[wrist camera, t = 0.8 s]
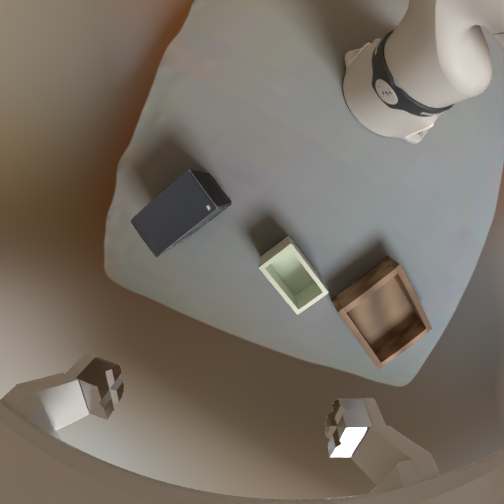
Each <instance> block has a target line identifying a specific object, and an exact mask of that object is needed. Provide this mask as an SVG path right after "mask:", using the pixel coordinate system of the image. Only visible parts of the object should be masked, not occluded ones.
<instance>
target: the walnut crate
mask: <svg viewBox="0 0 504 504" xmlns="http://www.w3.org/2000/svg"><path fill="white" fill-rule="evenodd" d="M331 300H332V302H333V304H334V306H335V308H336V310H337V312H338V314H339V315H340V316H341V318H342V319H343V321H344V322H345V323H346V325H347V326H348V327H349V329H350V330H351V331H352V333H353V334H354V336H355V337H356V338H357V340H358V341H359V343H360V344H361V345H362V347H363V348H364V350H365V351H366V352H367V354H368V355H369V357H370V358H371V359H372V361H373V362H374V364H375V365H376V366H377V368H378V369H379V368H381V367H382V366H384V365H385V364H387V363H388V362H390V361H391V360H392V359H394V358H395V357H397V356H398V355H399V354H401V353H402V352H403V351H405V350H406V349H407V348H409V347H410V346H411V345H413V344H414V343H415V342H416V341H418V340H419V339H420V338H421V337H423V336H424V335H425V334H426V333H428V332H429V331H430V330H431V329H432V327H431V325H430V323H429V320H428V318H427V316H426V314H425V312H424V310H423V308H422V306H421V304H420V302H419V300H418V298H417V296H416V294H415V292H414V290H413V288H412V286H411V284H410V282H409V280H408V278H407V276H406V275H405V273H404V271H403V269H402V267H401V265H400V264H399V263H397V262H396V261H394V260H393V259H391V258H390V257H388V256H387V257H386V258H385V259H384V260H382V261H381V262H380V263H379V264H377V265H376V266H375V267H374V268H372V269H371V270H370V271H368V272H367V273H366V274H365V275H363V276H362V277H361V278H359V279H358V280H357V281H355V282H354V283H353V284H351V285H350V286H349V287H347V288H346V289H345V290H343V291H342V292H341V293H339V294H338V295H337V296H335V297H334V298H332V299H331Z"/></svg>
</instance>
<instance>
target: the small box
mask: <svg viewBox="0 0 504 504" xmlns="http://www.w3.org/2000/svg"><path fill="white" fill-rule="evenodd" d="M230 205H231V201H230V200H229V199H228V198H227V197H226V195H225V194H224V192H223V191H222V190H221V188H220V187H219V186H218V184H217V183H216V181H215V180H214V178H213V177H212V176H211V175H210V174H209V173H203V172H198V171H193V170H189V169H188V170H187V171H186V172H184V173H183V174H182V175H181V176H180V177H178V178H177V179H176V180H175V181H174V182H173V183H171V184H170V185H169V186H168V187H167V188H166V189H165V190H163V191H162V192H161V193H160V194H159V195H158V196H157V197H156V198H154V199H153V200H152V201H151V202H150V203H149V204H148V205H147V206H146V207H144V208H143V209H142V210H141V211H140V212H139V213H138V214H137V215H136V216H135V217H134V218H133V219H132V220H131V223H132V224H133V226H134V228H135V229H136V230H137V232H138V233H139V235H140V236H141V238H142V239H143V240H144V242H145V243H146V244H147V246H148V247H149V249H150V250H151V251H152V253H153V254H154V255H155V257H158V256H160V255H161V254H162V253H164V252H165V251H167V250H169V249H170V248H172V247H174V246H175V245H177V244H179V243H181V242H183V241H184V240H185V239H187V238H188V237H189V236H191V235H192V234H193V233H194V232H196V231H197V230H198V229H200V228H201V227H202V226H204V225H205V224H206V223H207V222H209V221H211V220H212V219H213V218H214V217H215V216H217V215H218V214H219V213H221V212H222V211H223V210H225V209H226V208H227V207H228V206H230Z"/></svg>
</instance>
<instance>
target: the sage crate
mask: <svg viewBox="0 0 504 504" xmlns="http://www.w3.org/2000/svg"><path fill="white" fill-rule="evenodd" d="M259 269H260V270H261V271H262V272H263V274H264V275H265V276H266V277H267V278H268V280H269V281H270V282H271V283H272V285H273V286H274V287H275V288H276V289H277V291H278V292H279V293H280V294H281V295H282V297H283V298H284V299H285V300H286V302H287V303H288V304H289V305H290V306H291V308H292V309H293V310H294V311H295V312H296V314H297V315H298V314H299V313H301V312H302V311H304V310H305V309H307V308H308V307H310V306H311V305H312V304H314V303H315V302H317V301H318V300H319V299H321V298H322V297H324V296H325V295H326V294H328V293H329V292H328V290H327V288H326V286H325V285H324V283H323V281H322V279H321V277H320V276H319V275H318V273H317V272H316V271H315V269H314V268H313V267H312V265H311V264H310V263H309V261H308V260H307V259H306V258H305V256H304V255H303V254H302V252H301V251H300V250H299V248H298V247H297V246H296V244H295V243H294V242H293V241H292V239H291V238H290V237H289V235H288V236H287V237H286V238H284V239H283V240H282V241H280V242H279V243H278V244H276V245H275V246H274V247H272V248H271V249H270V250H268V251H267V252H266V253H265V254H263V255H262V256H261V257H260V262H259Z"/></svg>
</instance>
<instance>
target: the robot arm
mask: <svg viewBox="0 0 504 504" xmlns="http://www.w3.org/2000/svg"><path fill="white" fill-rule="evenodd" d="M480 26H482V27H483V28H484V29H486V30H487V31H488V33H490V34H491V35H492V36H493V37H494V38H495V39H496V40H497V42H498V43H499V44H500V45H501V47H502V48H503V49H504V0H409V6H408V9H407V12H406V14H405V15H404V17H403V19H402V20H401V22H400V23H399V25H398V26H397V28H396V29H395V30H394V31H391V32H389V33H388V34H387V35H386V36H385V37H383V38H382V39H380V38H377V39H375V40H373V43H369V42H368V43H366V44H365V45H364V46H363V47H362V48H359V49H355V50H351V51H349V52H347V53H346V54H345V56H344V60H345V65H346V74H345V77H344V82H343V91H344V97H345V100H346V103H347V105H348V107H349V109H350V110H351V112H352V114H353V115H354V116H355V117H356V119H357V120H358V121H359V122H360V123H361V124H363V125H364V126H365V127H366V128H368V129H369V130H371V131H373V132H375V133H377V134H379V135H383V136H387V137H398V138H402V139H404V140H406V141H407V142H409V143H412V144H416V143H418V142H420V141H421V139H422V138H423V137H424V135H425V134H426V133H427V131H428V130H429V129H430V128H431V127H432V126H433V125H434V124H433V123H434V122H435V120H436V119H437V118H438V116H439V115H440V114H441V113H443V112H445V111H446V110H448V109H450V108H451V107H452V106H453V105H454V104H455V103H457V102H460V101H463V100H465V99H468V98H471V97H473V96H476V95H479V94H481V93H482V92H483V91H484V90H485V89H486V88H487V87H488V85H489V83H490V81H491V78H492V59H491V54H490V50H489V47H488V44H487V42H486V39H485V37H484V35H483V33H482V30H481V27H480ZM417 133H419V134H417ZM121 373H122V372H121V367H120V366H119V365H118V364H116V363H113V362H110V361H107V360H104V359H102V358H99V357H95V356H93V355H91V354H84V355H83V356H82V357H81V358H80V359H79V360H78V361H77V362H76V363H75V364H74V365H73V366H72V367H71V368H70V369H69V371H68V372H66V374H64V373H59V374H55V375H52V376H48V377H44V378H41V379H37V380H33V381H29V382H25V383H21V384H17V385H16V386H15V387H14V388H13V389H12V390H11V391H10V392H9V393H7V394H6V395H5V396H4V397H3V398H2V399H1V400H0V504H504V449H502V450H500V451H498V452H496V453H494V454H492V455H490V456H488V457H486V458H484V459H482V460H479V461H477V462H475V463H473V464H470V465H468V466H466V467H463V468H461V469H458V470H456V471H453V472H450V473H447V474H445V475H442V476H441V475H440V472H439V470H438V468H437V466H436V464H435V462H434V460H433V457H432V455H431V454H430V453H429V452H427V451H426V450H424V449H423V448H421V447H420V446H418V445H417V444H415V443H414V442H412V441H411V440H409V439H408V438H406V437H405V436H403V435H402V434H400V433H399V432H397V431H396V430H395V429H393V428H392V427H390V426H386V425H385V423H384V420H383V418H382V415H381V413H380V411H379V408H378V406H377V404H376V401H375V399H373V398H361V399H336V400H335V401H334V403H333V405H332V408H333V411H332V412H331V413H329V414H328V417H327V419H326V425H325V433H326V436H327V437H328V438H329V439H330V441H329V443H328V450H329V455H330V457H351V459H352V460H353V461H354V462H355V463H356V464H357V465H358V466H359V467H360V468H361V469H362V470H363V471H364V472H365V473H366V474H367V475H368V476H369V477H370V479H372V481H373V482H375V484H376V485H377V486H376V487H375V488H374V489H373V491H372V492H371V493H370V494H363V495H356V496H349V497H339V498H327V499H305V500H284V499H283V500H282V499H281V500H280V499H261V498H249V497H239V496H231V495H224V494H217V493H211V492H206V491H200V490H195V489H191V488H186V487H181V486H177V485H174V484H170V483H166V482H162V481H159V480H155V479H152V478H149V477H146V476H142V475H140V474H136V473H134V472H131V471H128V470H125V469H123V468H120V467H117V466H115V465H112V464H110V463H108V462H105V461H102V460H100V459H98V458H96V457H93V456H92V455H89V454H87V453H85V452H83V451H81V450H79V449H77V448H75V447H73V446H71V445H69V444H67V443H66V442H64V441H62V440H60V438H59V436H58V434H57V432H56V430H58V429H60V428H62V427H64V426H66V425H68V424H71V423H72V422H74V421H77V420H79V419H81V418H83V417H85V416H86V415H88V414H89V413H91V414H93V415H96V416H98V417H101V418H104V419H108V418H109V417H110V415H111V414H112V412H113V411H114V406H113V404H116V403H118V402H119V401H120V400H121V398H122V395H123V392H124V383H123V380H122V379H121V378H120V374H121Z"/></svg>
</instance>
